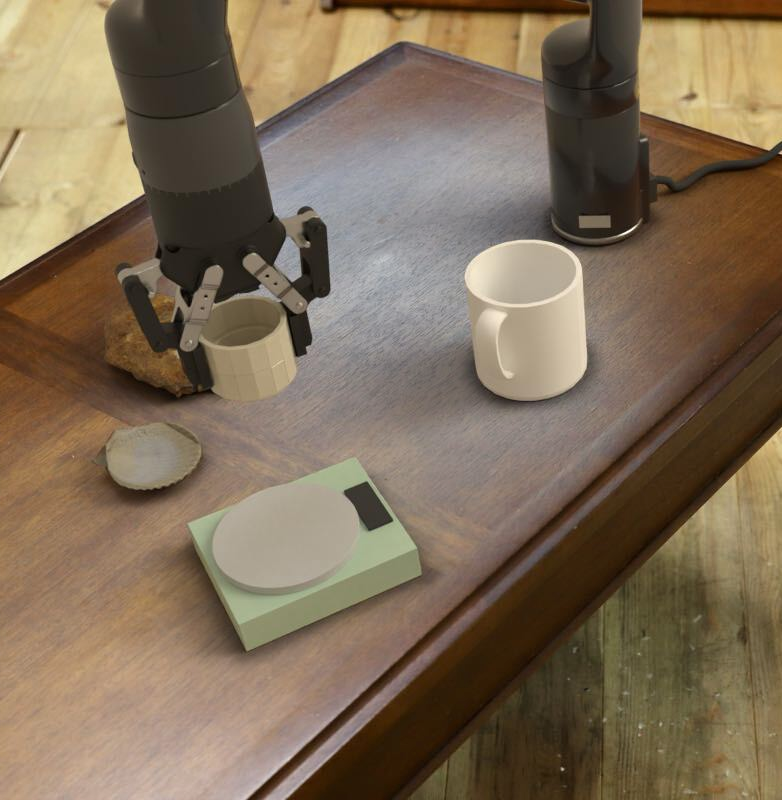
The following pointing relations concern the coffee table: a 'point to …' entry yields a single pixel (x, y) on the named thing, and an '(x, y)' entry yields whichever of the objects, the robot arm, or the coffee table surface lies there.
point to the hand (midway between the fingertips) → (251, 365)
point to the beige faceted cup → (248, 348)
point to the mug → (527, 319)
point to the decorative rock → (145, 349)
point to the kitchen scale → (303, 551)
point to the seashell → (150, 455)
